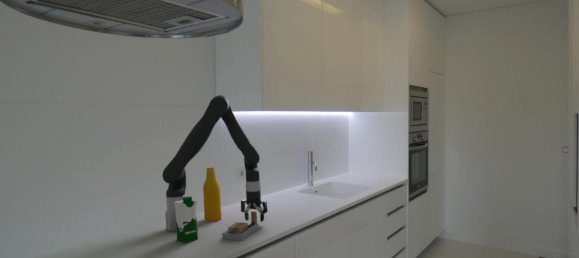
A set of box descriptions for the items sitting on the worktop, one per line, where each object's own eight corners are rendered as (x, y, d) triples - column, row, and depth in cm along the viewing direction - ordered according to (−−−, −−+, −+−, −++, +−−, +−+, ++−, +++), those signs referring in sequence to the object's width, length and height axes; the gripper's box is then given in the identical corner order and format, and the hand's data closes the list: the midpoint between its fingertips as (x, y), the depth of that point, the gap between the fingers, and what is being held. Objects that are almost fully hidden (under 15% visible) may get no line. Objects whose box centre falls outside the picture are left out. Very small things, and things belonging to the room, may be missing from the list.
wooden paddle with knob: (228, 237, 166) (227, 223, 165) (250, 223, 187) (249, 210, 187) (240, 239, 164) (239, 224, 163) (260, 224, 185) (260, 211, 185)
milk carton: (183, 244, 159) (181, 200, 159) (173, 239, 166) (171, 197, 165) (200, 239, 166) (198, 196, 165) (191, 235, 172) (188, 193, 171)
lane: (222, 238, 165) (222, 233, 165) (240, 227, 181) (240, 222, 181) (242, 240, 161) (242, 235, 161) (258, 228, 177) (258, 223, 177)
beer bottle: (212, 216, 203) (210, 165, 202) (225, 218, 198) (222, 166, 197) (200, 221, 195) (198, 168, 194) (213, 222, 190) (211, 168, 189)
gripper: (237, 190, 183) (238, 221, 183) (262, 191, 178) (264, 223, 178) (244, 187, 190) (245, 217, 190) (268, 188, 185) (270, 219, 185)
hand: (254, 220), depth 184 cm, fingers open, 8 cm apart
